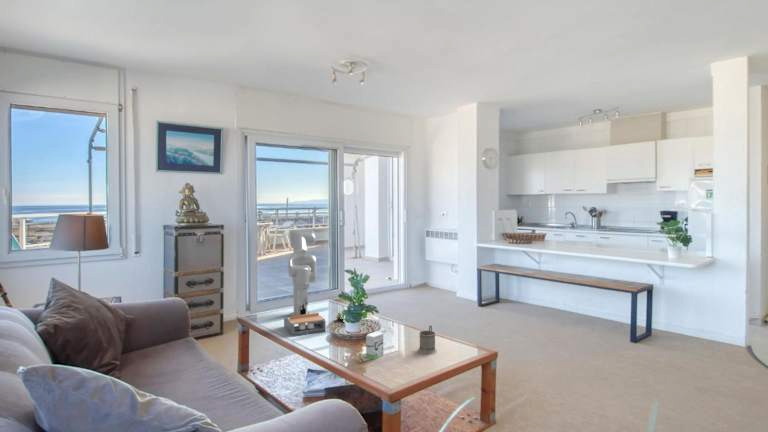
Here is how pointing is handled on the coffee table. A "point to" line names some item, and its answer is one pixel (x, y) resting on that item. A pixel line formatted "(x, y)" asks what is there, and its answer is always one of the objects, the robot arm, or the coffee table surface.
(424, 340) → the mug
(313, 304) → the coffee table surface
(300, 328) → the peg
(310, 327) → the housing
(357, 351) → the coffee table surface
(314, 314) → the lid
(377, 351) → the ink box
